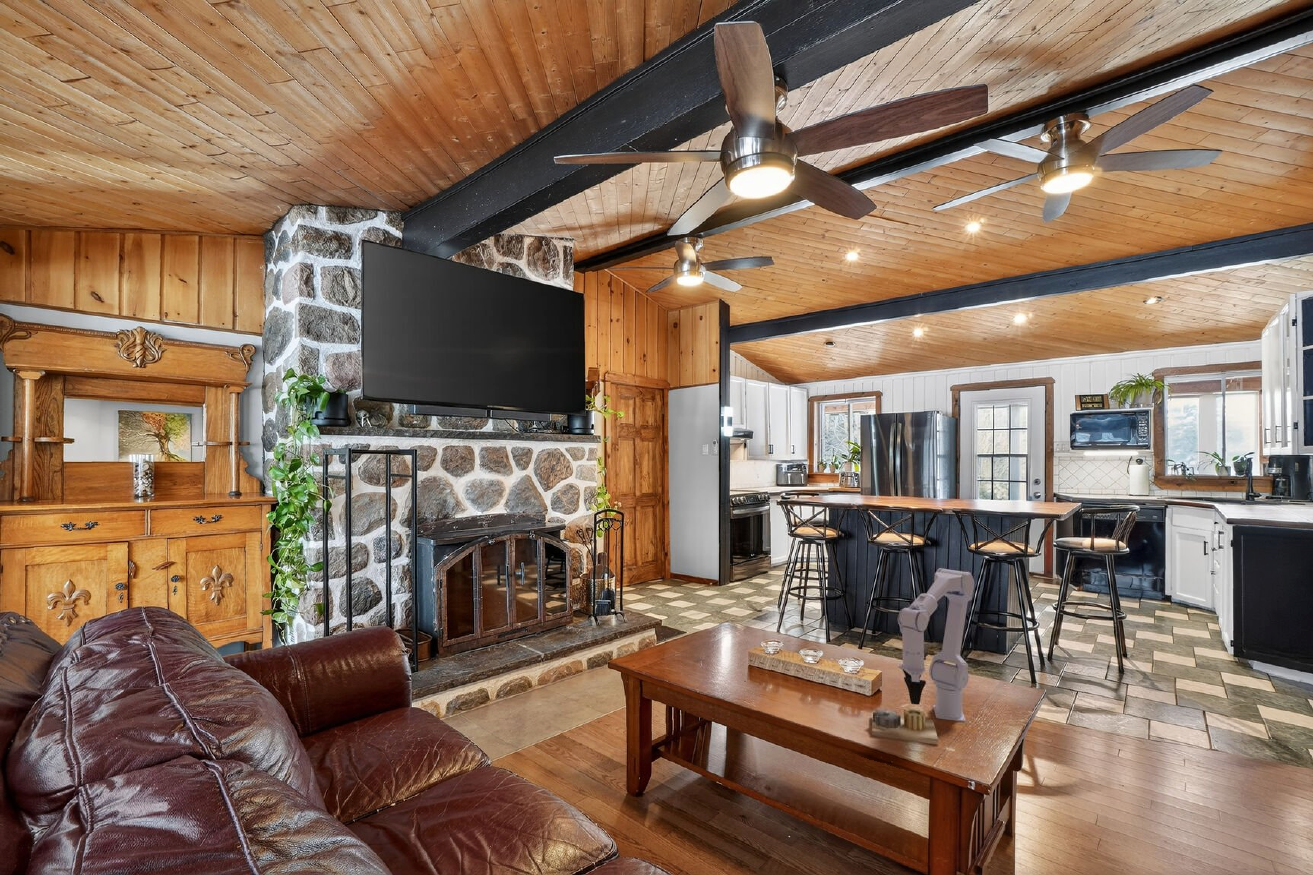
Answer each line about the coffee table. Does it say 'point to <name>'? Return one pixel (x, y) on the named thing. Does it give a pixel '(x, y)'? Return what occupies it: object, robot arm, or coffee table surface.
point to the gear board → (901, 728)
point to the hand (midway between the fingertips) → (914, 698)
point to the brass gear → (914, 719)
